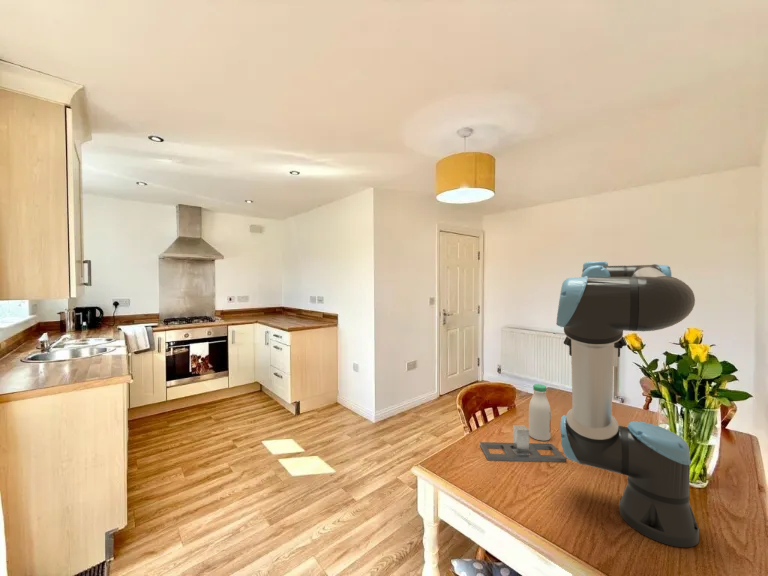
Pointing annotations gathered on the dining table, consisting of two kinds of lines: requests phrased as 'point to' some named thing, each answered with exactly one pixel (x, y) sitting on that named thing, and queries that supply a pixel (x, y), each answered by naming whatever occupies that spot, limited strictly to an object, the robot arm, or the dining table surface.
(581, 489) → the dining table surface
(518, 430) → the block
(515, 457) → the grey slotted plate
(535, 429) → the milk bottle
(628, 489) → the robot arm
